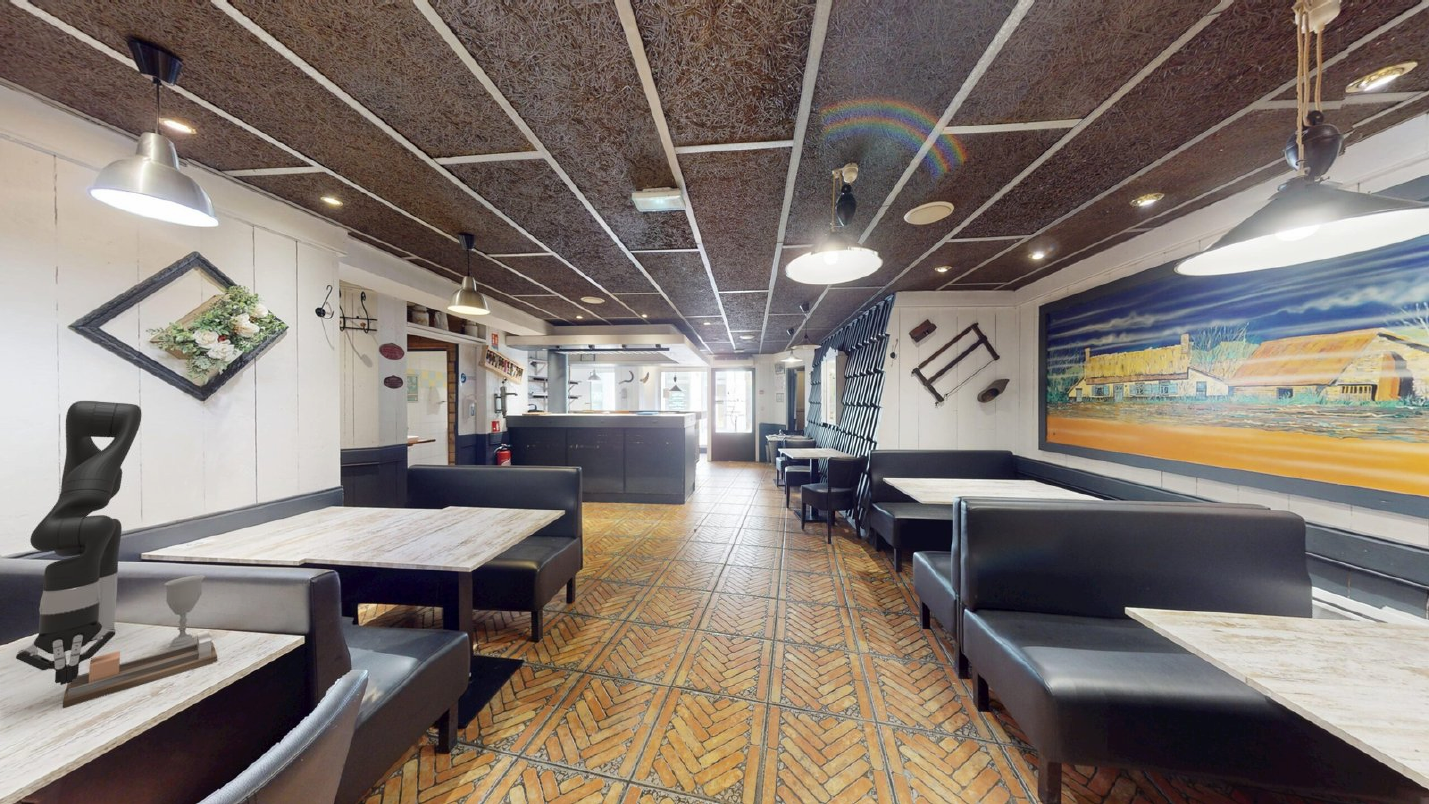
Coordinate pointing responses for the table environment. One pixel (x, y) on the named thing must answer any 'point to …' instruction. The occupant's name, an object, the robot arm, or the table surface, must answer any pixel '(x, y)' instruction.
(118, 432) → the robot arm
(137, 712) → the table surface
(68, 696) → the rail board
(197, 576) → the chalice
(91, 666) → the orange-brown block
